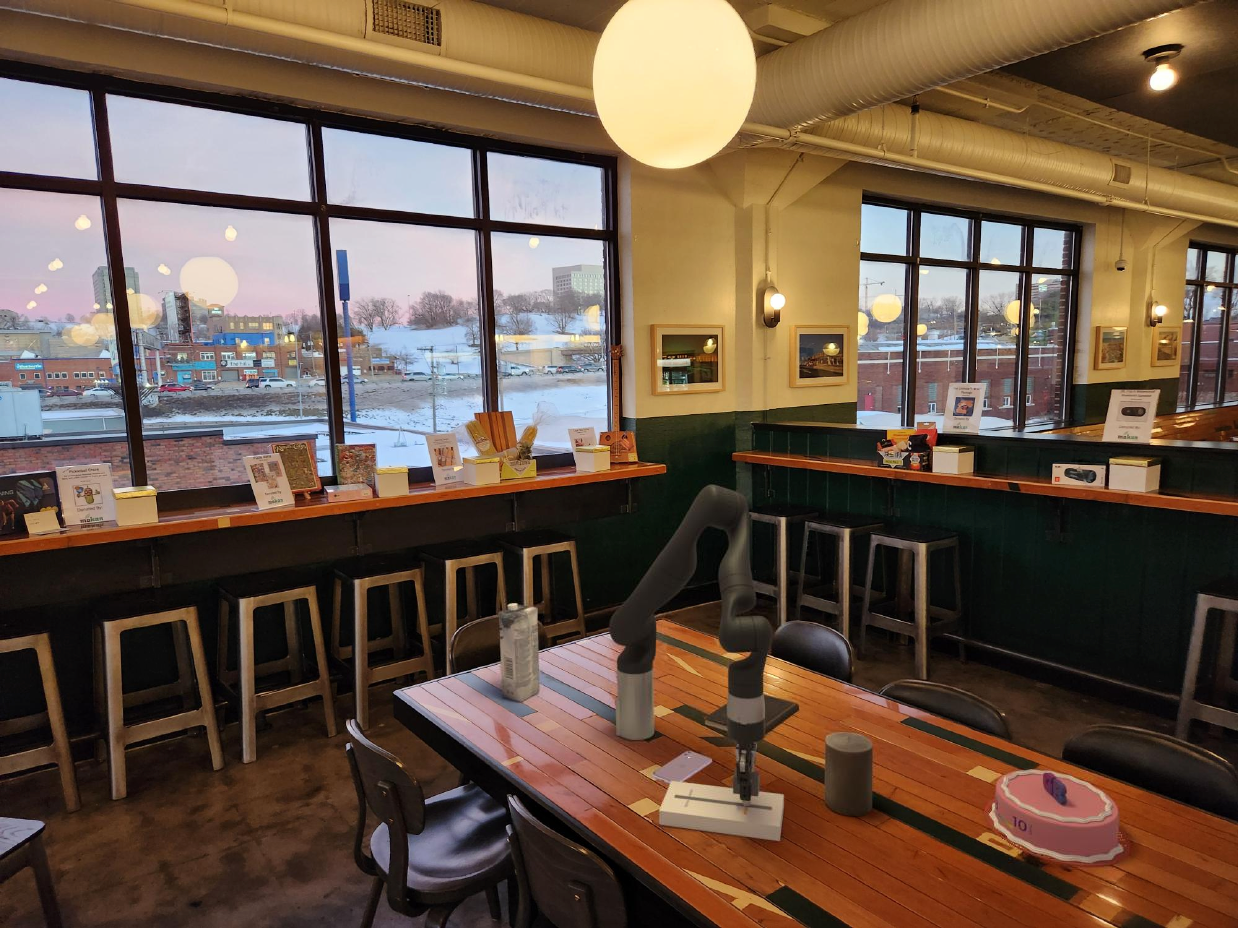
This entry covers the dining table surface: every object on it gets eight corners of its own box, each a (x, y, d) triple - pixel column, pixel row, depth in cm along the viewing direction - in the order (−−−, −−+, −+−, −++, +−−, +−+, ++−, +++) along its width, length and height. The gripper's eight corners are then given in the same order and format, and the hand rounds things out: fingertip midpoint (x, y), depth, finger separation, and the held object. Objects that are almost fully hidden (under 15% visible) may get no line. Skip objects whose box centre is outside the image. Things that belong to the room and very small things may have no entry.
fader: (733, 806, 154) (732, 776, 153) (735, 798, 157) (734, 768, 156) (758, 809, 152) (757, 779, 152) (759, 801, 155) (759, 771, 155)
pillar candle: (865, 821, 153) (866, 750, 152) (818, 808, 158) (818, 739, 157) (877, 799, 161) (878, 731, 160) (831, 787, 166) (832, 721, 165)
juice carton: (544, 691, 223) (541, 602, 221) (521, 704, 214) (518, 611, 212) (521, 685, 228) (517, 598, 225) (497, 698, 219) (494, 607, 217)
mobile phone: (649, 772, 173) (688, 748, 184) (649, 776, 173) (688, 752, 185) (676, 783, 168) (714, 757, 179) (676, 787, 168) (714, 761, 180)
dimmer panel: (659, 824, 154) (659, 809, 153) (671, 793, 165) (671, 780, 165) (779, 840, 147) (779, 825, 147) (783, 807, 159) (783, 793, 158)
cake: (962, 795, 162) (963, 748, 161) (1080, 794, 162) (1082, 746, 161) (1022, 869, 137) (1024, 813, 136) (1162, 867, 137) (1165, 811, 136)
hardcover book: (703, 726, 199) (703, 717, 199) (747, 697, 217) (747, 689, 217) (757, 742, 189) (757, 734, 189) (799, 711, 207) (799, 703, 206)
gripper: (731, 697, 160) (732, 775, 162) (722, 726, 147) (723, 811, 149) (767, 701, 158) (768, 779, 160) (761, 730, 145) (761, 816, 146)
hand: (746, 794), depth 154 cm, fingers closed on fader, 3 cm apart
